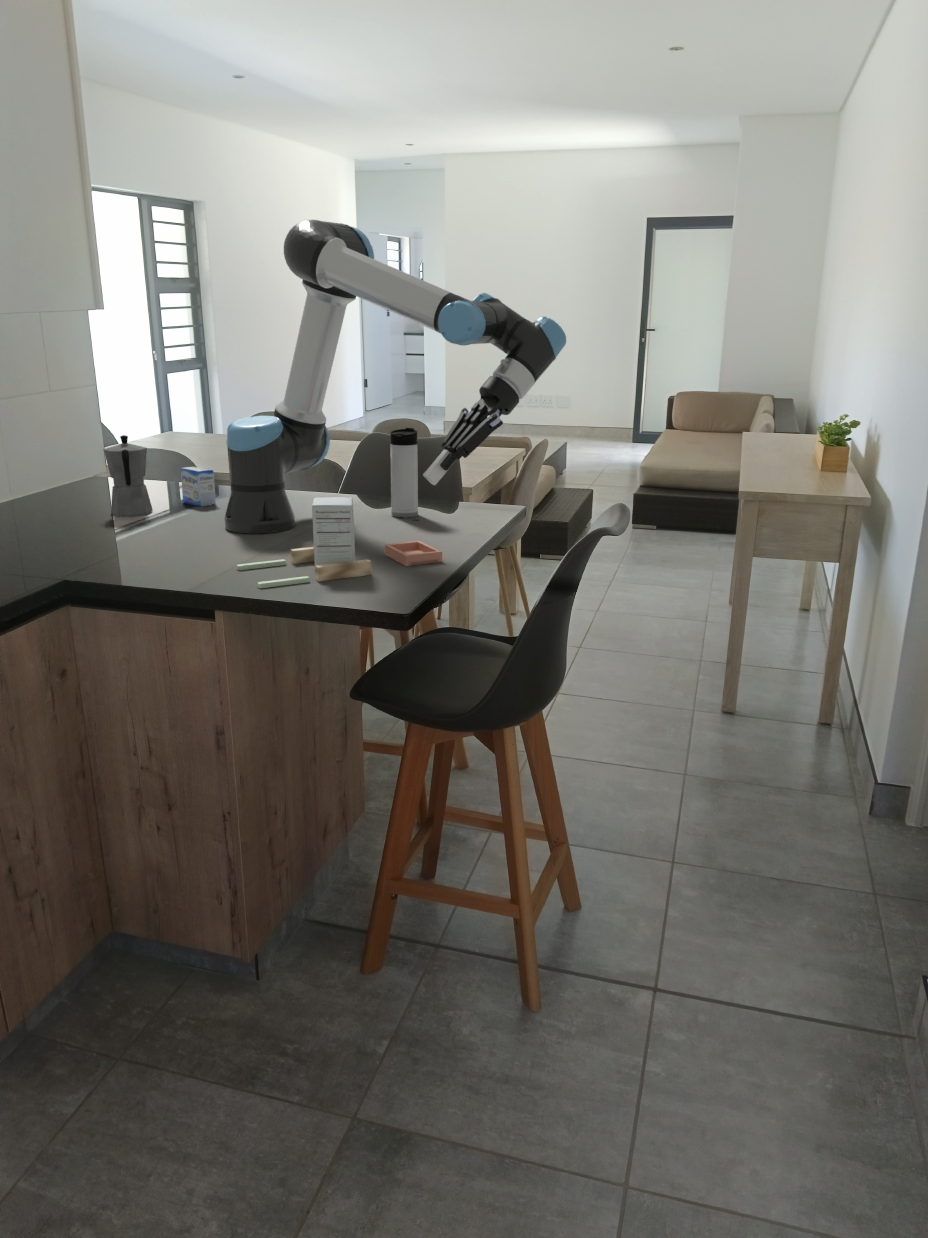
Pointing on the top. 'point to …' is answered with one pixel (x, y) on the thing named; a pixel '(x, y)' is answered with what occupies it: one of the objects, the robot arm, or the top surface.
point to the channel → (331, 566)
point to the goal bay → (273, 582)
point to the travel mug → (404, 473)
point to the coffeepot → (128, 479)
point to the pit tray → (413, 553)
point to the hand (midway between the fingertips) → (429, 480)
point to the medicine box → (198, 486)
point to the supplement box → (333, 530)
